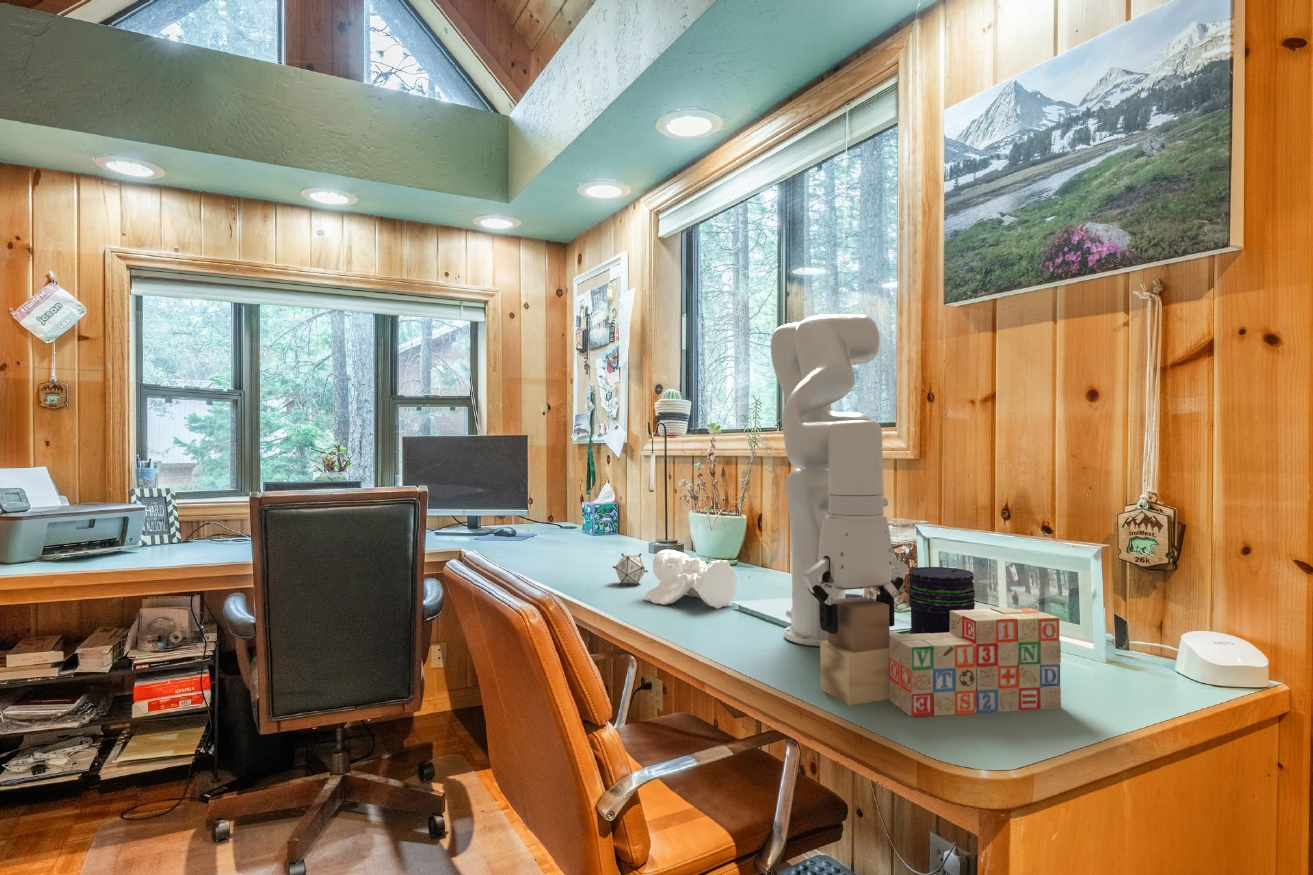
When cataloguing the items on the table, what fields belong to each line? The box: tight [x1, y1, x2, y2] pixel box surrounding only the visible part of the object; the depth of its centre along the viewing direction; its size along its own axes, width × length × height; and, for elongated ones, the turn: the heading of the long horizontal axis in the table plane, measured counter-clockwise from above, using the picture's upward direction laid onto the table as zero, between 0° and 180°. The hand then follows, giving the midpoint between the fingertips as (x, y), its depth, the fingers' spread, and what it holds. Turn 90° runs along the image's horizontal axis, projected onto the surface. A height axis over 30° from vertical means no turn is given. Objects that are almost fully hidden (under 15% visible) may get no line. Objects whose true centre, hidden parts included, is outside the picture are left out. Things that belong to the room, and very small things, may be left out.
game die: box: [612, 552, 649, 587], centre depth 184 cm, size 9×8×10 cm
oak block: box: [819, 640, 890, 706], centre depth 101 cm, size 7×7×7 cm
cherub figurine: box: [643, 549, 738, 610], centre depth 162 cm, size 13×12×20 cm
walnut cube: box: [828, 596, 890, 653], centre depth 101 cm, size 6×6×6 cm
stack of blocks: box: [889, 607, 1062, 718], centre depth 97 cm, size 21×6×12 cm, turn 98°
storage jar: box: [907, 566, 976, 634], centre depth 113 cm, size 10×10×15 cm
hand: (857, 627), depth 101 cm, fingers open, 9 cm apart
